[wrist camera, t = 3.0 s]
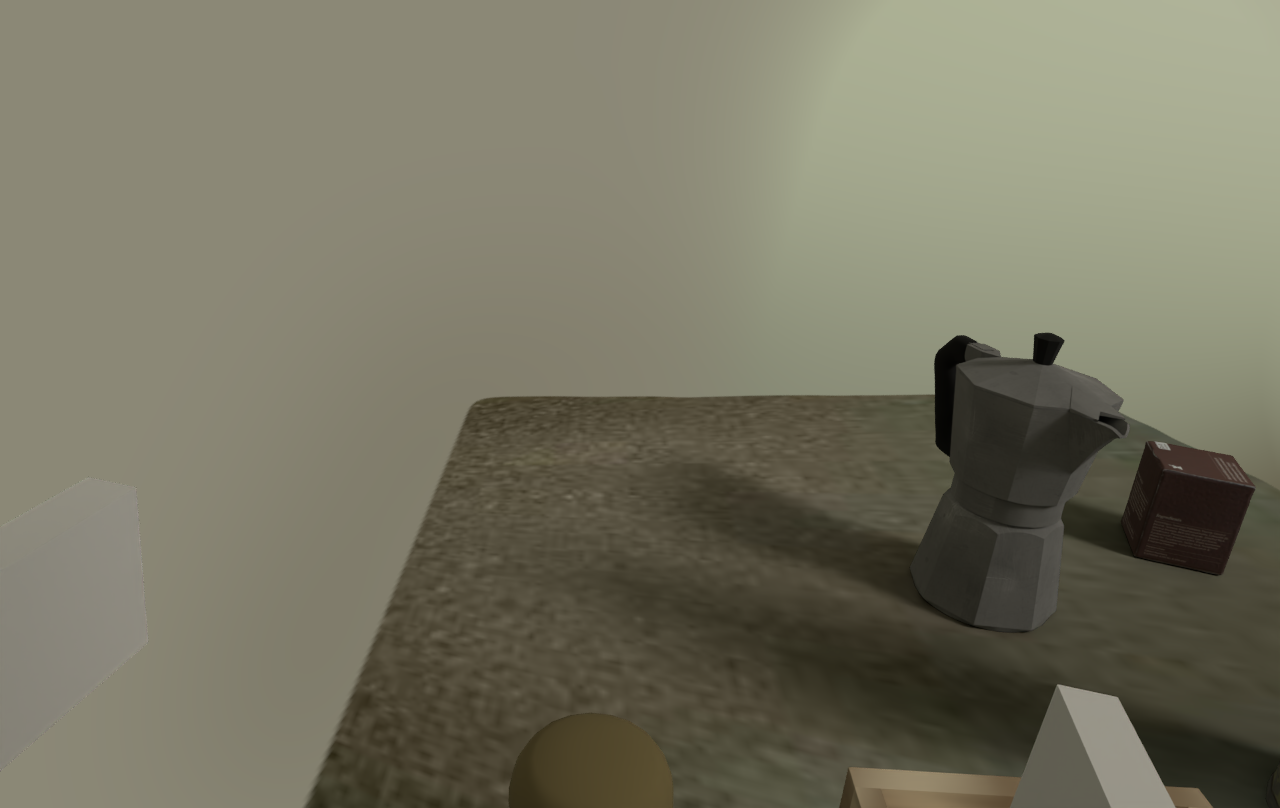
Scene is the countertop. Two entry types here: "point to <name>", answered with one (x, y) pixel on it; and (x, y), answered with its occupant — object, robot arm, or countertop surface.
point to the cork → (591, 766)
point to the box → (1186, 507)
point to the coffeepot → (1008, 479)
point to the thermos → (1274, 789)
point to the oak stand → (953, 790)
